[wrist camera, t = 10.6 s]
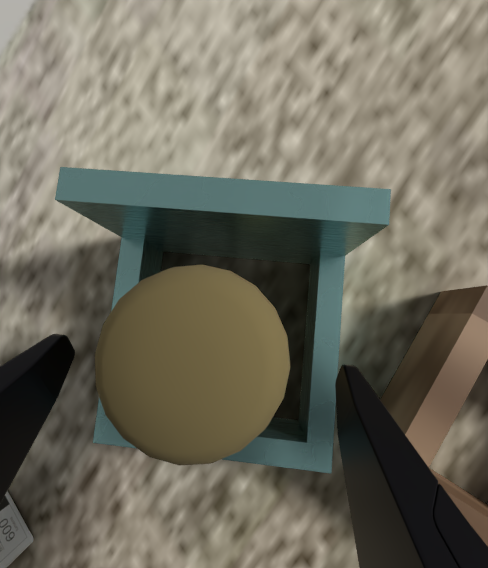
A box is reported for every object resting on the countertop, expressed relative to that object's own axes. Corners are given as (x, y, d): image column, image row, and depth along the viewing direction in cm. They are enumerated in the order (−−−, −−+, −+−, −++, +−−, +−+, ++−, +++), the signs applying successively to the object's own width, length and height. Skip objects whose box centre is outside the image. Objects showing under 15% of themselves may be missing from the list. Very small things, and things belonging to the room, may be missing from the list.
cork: (235, 410, 17) (191, 582, 6) (158, 341, 18) (-7, 383, 7) (302, 329, 17) (375, 353, 6) (224, 264, 18) (168, 185, 7)
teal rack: (318, 444, 16) (372, 565, 9) (121, 420, 17) (3, 510, 9) (331, 246, 18) (390, 189, 10) (146, 231, 18) (60, 167, 10)
